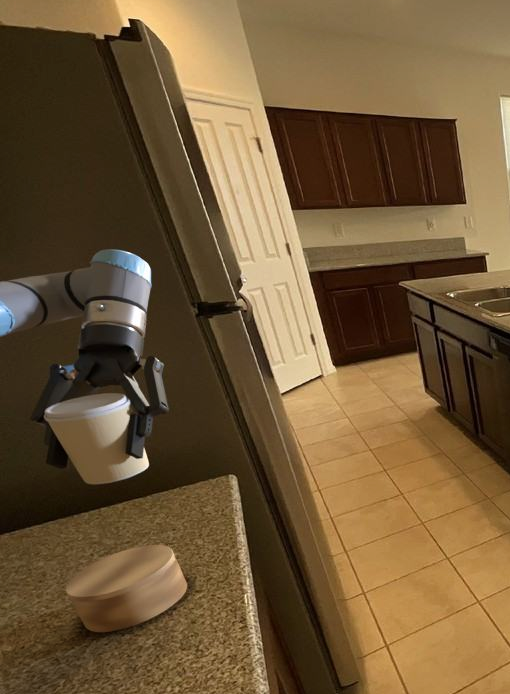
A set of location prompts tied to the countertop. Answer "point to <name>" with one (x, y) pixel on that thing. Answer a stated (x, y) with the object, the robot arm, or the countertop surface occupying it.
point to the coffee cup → (96, 436)
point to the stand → (127, 588)
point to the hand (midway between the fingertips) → (95, 460)
